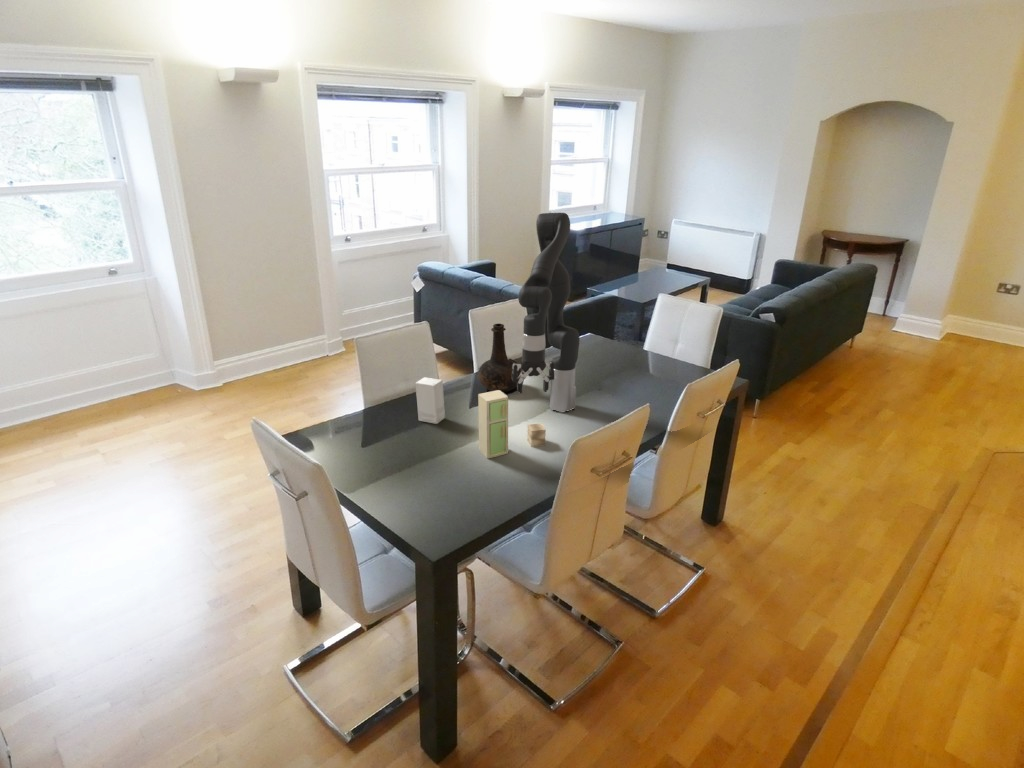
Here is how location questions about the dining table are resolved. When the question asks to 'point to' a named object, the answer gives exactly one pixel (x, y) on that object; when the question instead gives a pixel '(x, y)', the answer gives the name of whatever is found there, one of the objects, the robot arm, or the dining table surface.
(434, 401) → the skincare box
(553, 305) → the robot arm
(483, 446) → the toy refrigerator
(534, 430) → the beech block
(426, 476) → the dining table surface
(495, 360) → the glass bottle
